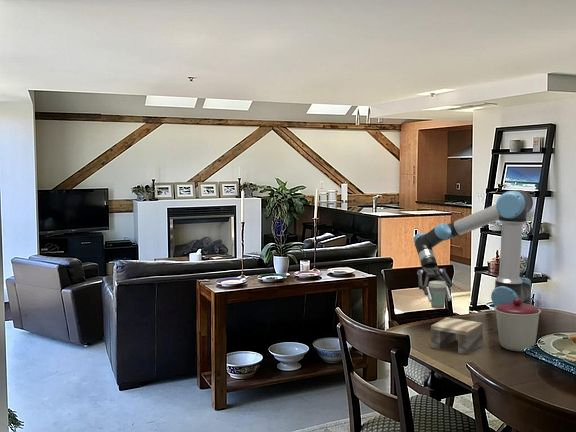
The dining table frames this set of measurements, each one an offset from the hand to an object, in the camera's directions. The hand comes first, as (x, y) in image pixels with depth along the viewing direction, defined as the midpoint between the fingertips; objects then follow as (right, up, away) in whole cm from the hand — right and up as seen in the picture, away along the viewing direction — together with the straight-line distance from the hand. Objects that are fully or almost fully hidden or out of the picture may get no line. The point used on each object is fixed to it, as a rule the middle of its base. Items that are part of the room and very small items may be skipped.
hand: (440, 299), depth 256 cm
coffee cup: (0, -4, +4) cm, 6 cm away
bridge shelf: (+2, -17, -20) cm, 26 cm away
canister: (+25, -16, -25) cm, 39 cm away
